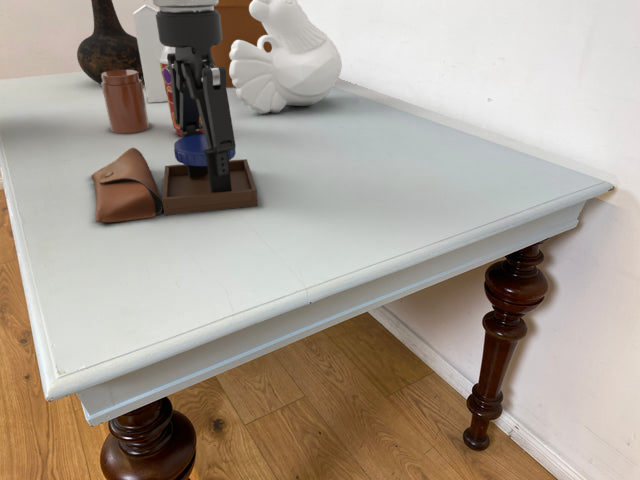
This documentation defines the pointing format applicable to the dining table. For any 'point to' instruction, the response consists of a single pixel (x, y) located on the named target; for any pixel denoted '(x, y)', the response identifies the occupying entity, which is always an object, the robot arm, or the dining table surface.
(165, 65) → the smoothie
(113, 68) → the dark brown vase
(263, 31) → the flowerpot
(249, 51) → the decorative rooster
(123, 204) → the sunglasses case
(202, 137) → the lid
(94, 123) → the dining table surface
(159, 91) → the milk
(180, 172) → the tray
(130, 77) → the jar
